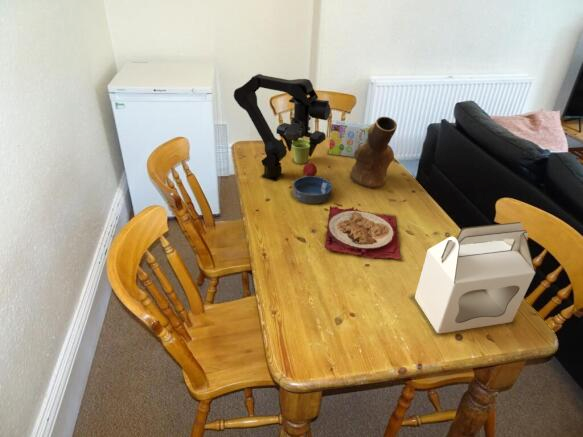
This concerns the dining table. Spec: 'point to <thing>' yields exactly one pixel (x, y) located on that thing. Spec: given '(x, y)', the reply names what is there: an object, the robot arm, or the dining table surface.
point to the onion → (309, 169)
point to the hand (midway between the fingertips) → (299, 153)
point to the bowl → (312, 189)
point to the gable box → (476, 277)
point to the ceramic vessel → (374, 154)
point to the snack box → (347, 137)
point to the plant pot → (301, 150)
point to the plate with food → (362, 233)
